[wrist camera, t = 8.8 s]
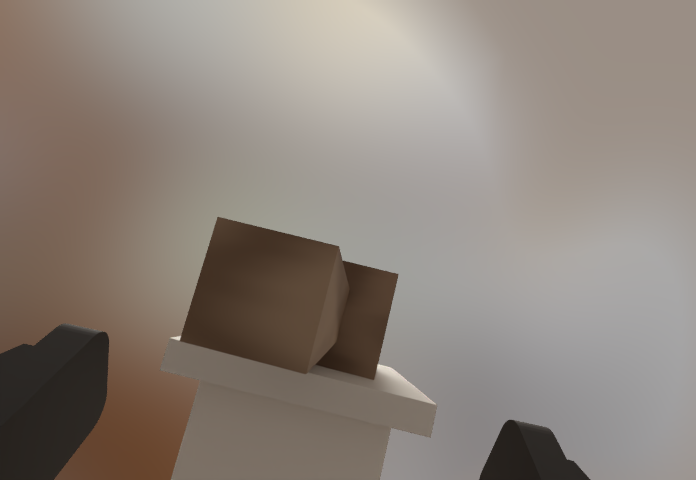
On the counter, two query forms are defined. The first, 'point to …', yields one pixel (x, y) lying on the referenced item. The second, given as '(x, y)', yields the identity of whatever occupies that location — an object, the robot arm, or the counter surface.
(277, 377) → the stand
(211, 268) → the mallet
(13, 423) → the robot arm
